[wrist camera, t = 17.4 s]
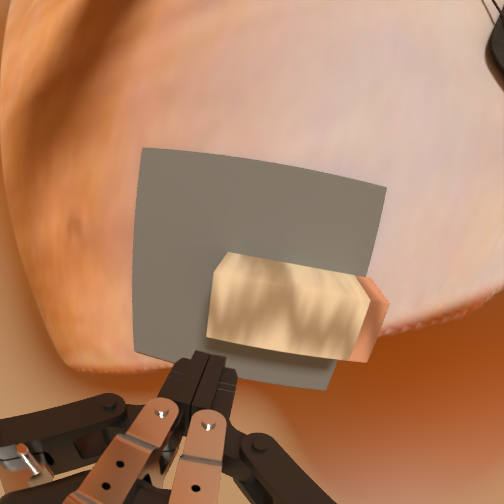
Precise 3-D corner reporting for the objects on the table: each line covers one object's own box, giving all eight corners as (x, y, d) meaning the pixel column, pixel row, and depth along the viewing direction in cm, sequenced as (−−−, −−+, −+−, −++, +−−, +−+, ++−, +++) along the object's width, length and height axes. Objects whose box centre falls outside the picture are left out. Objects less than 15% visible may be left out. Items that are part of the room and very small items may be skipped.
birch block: (213, 272, 19) (389, 303, 18) (227, 251, 23) (370, 278, 23) (206, 336, 20) (366, 362, 19) (220, 306, 25) (353, 329, 24)
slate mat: (145, 148, 22) (142, 147, 22) (384, 187, 21) (386, 187, 21) (136, 348, 28) (134, 350, 27) (324, 386, 27) (325, 390, 26)
